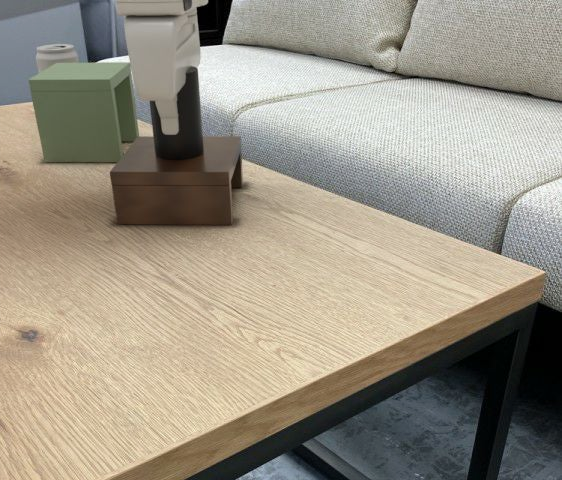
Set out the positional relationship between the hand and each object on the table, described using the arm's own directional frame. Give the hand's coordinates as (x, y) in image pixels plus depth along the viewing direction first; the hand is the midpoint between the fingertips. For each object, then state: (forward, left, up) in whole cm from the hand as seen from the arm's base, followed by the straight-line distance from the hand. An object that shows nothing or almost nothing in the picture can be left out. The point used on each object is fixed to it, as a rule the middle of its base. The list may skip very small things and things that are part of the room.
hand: (177, 124), depth 79 cm
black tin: (0, 0, -3) cm, 3 cm away
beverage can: (-25, +36, -9) cm, 45 cm away
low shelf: (0, 0, -9) cm, 9 cm away
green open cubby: (-17, +22, -9) cm, 29 cm away
